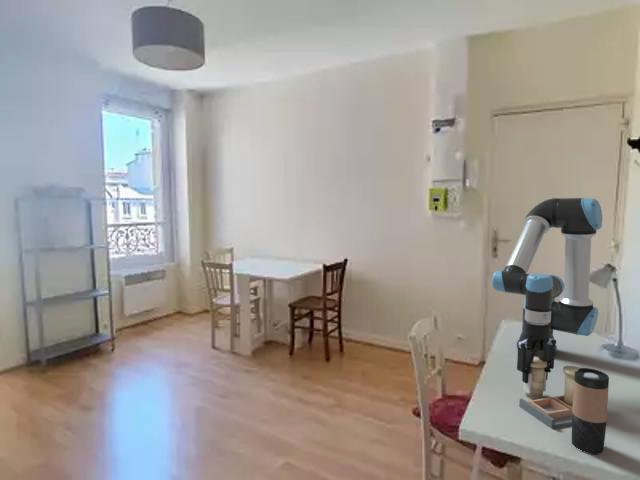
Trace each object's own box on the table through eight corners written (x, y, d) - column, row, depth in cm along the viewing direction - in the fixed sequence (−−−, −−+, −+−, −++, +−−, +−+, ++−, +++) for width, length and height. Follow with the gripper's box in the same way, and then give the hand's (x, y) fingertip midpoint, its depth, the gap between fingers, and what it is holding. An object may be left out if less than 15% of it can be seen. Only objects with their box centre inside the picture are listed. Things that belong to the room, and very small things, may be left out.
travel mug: (610, 456, 107) (615, 381, 104) (577, 453, 108) (582, 379, 106) (596, 439, 114) (600, 368, 112) (565, 436, 115) (569, 366, 113)
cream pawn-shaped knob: (519, 392, 141) (520, 358, 140) (535, 390, 143) (536, 356, 141) (533, 401, 135) (535, 366, 134) (549, 399, 136) (551, 363, 135)
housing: (519, 406, 132) (520, 366, 131) (568, 398, 137) (571, 360, 135) (551, 428, 120) (553, 384, 118) (604, 419, 124) (607, 376, 123)
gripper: (522, 327, 130) (519, 399, 133) (569, 323, 135) (566, 392, 137) (505, 321, 137) (503, 388, 140) (551, 316, 142) (548, 382, 144)
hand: (534, 390), depth 139 cm, fingers closed on cream pawn-shaped knob, 5 cm apart
